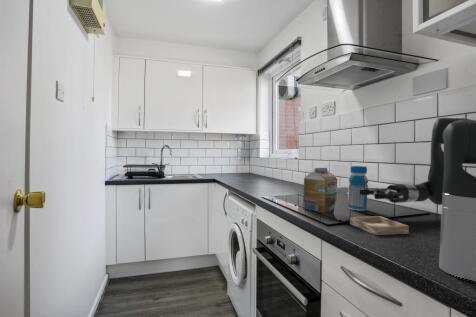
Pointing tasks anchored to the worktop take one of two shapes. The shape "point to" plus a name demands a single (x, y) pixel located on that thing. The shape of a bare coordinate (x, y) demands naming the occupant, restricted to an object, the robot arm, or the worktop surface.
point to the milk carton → (320, 191)
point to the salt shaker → (342, 204)
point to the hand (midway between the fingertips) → (367, 194)
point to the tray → (379, 225)
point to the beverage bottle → (357, 188)
